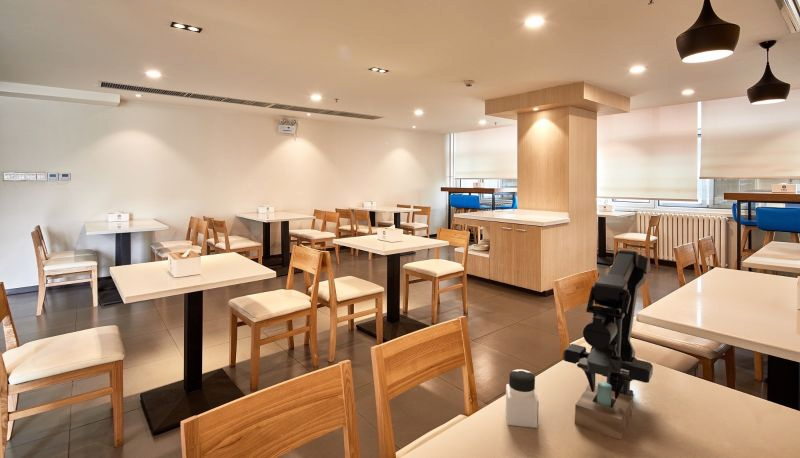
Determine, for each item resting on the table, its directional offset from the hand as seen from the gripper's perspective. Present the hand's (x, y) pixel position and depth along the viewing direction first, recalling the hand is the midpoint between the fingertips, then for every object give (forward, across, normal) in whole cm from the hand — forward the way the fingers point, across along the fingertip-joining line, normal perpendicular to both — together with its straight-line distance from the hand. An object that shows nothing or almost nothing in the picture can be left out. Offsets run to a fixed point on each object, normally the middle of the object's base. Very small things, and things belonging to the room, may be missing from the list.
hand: (604, 394), depth 99 cm
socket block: (+6, 0, 0) cm, 6 cm away
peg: (+6, 0, 0) cm, 7 cm away
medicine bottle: (+7, -16, -12) cm, 21 cm away
